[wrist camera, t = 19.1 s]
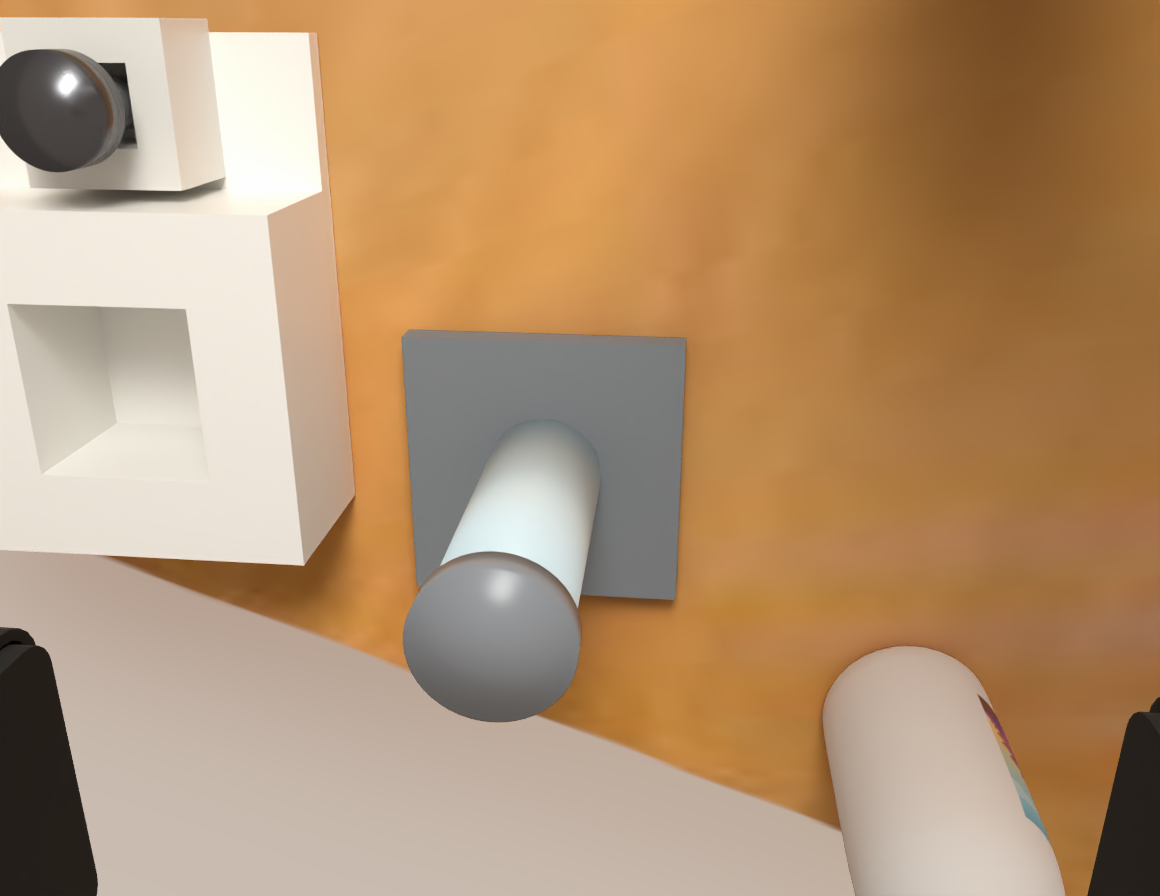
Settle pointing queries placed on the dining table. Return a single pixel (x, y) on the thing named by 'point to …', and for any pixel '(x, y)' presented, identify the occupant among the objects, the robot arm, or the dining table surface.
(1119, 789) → the robot arm
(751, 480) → the dining table surface
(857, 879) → the milk bottle
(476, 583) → the cartridge
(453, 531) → the mat
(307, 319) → the housing
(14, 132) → the plunger
